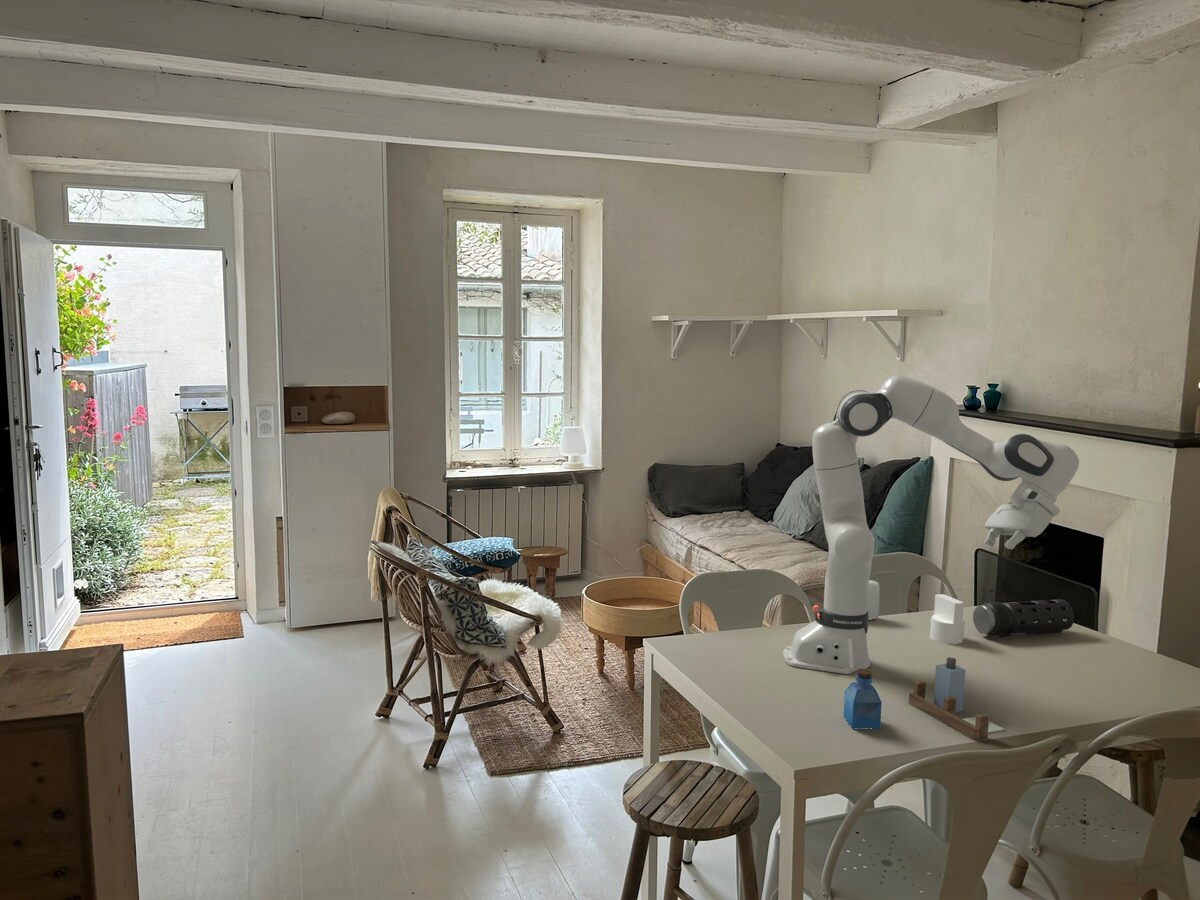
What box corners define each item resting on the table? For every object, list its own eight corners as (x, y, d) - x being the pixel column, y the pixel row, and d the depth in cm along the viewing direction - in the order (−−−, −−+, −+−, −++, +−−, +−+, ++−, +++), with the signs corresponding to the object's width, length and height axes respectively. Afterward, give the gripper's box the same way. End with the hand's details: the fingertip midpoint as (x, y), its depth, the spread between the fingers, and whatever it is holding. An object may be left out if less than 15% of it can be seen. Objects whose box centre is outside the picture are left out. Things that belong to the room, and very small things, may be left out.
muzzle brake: (1073, 637, 259) (1076, 603, 258) (991, 643, 252) (993, 608, 251) (1049, 627, 268) (1052, 594, 267) (969, 632, 261) (972, 598, 260)
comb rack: (974, 740, 189) (975, 718, 188) (908, 703, 208) (909, 682, 207) (1010, 733, 192) (1012, 711, 192) (943, 697, 211) (944, 677, 211)
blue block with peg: (947, 713, 202) (950, 663, 201) (933, 706, 206) (936, 656, 205) (962, 711, 204) (966, 661, 202) (948, 703, 208) (952, 654, 207)
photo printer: (847, 621, 269) (850, 581, 268) (842, 617, 274) (844, 578, 272) (880, 621, 271) (882, 581, 269) (874, 616, 275) (877, 578, 273)
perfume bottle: (870, 717, 199) (873, 666, 198) (879, 729, 193) (883, 676, 192) (843, 717, 199) (846, 666, 198) (851, 729, 193) (855, 676, 192)
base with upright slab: (923, 635, 258) (925, 595, 256) (948, 633, 261) (951, 593, 259) (943, 645, 249) (946, 604, 248) (970, 642, 252) (973, 602, 251)
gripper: (998, 494, 227) (966, 536, 226) (1044, 494, 206) (1009, 540, 205) (1017, 510, 227) (985, 552, 226) (1064, 511, 207) (1030, 557, 205)
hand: (997, 546), depth 215 cm, fingers open, 8 cm apart
